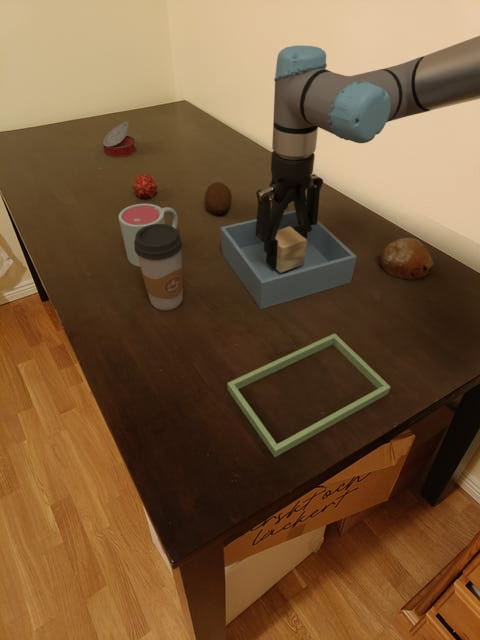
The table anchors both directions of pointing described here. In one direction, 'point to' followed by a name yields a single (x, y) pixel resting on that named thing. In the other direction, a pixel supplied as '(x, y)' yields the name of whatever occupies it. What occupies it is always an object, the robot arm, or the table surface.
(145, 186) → the red bumpy ball
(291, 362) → the frame
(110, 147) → the canned food
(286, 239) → the block
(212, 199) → the potato
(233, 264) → the bin
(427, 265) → the bread roll
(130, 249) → the mug
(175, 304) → the coffee cup
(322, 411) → the table surface
